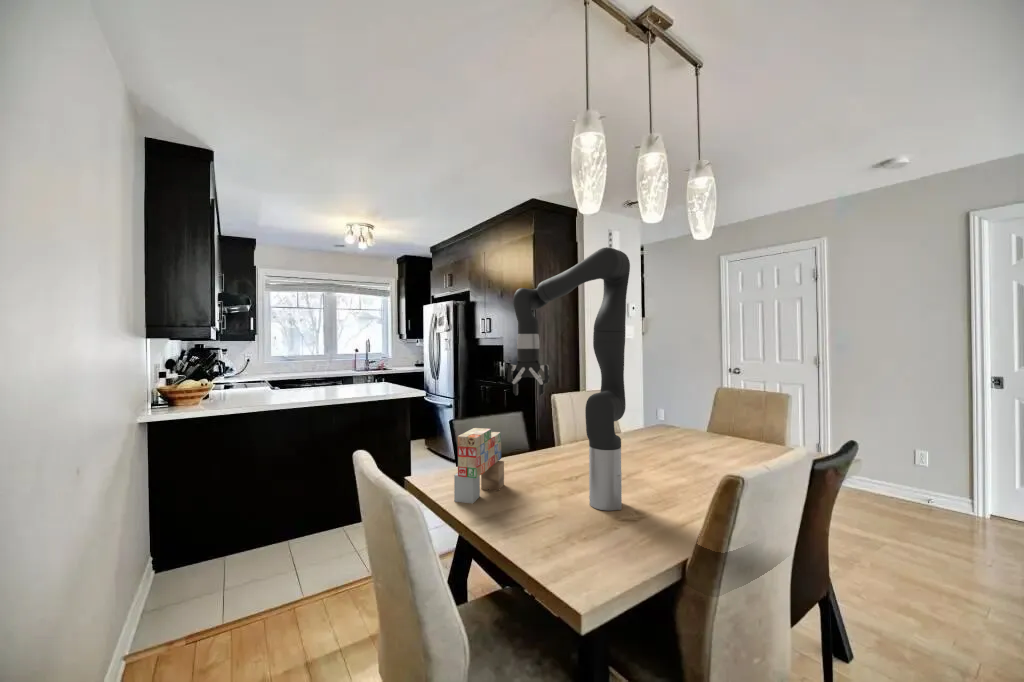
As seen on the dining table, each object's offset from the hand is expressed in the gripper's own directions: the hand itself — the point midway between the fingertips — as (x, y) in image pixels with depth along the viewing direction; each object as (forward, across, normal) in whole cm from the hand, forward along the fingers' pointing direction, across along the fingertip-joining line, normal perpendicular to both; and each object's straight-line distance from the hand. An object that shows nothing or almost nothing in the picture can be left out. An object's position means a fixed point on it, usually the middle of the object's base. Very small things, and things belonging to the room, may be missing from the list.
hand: (528, 395), depth 142 cm
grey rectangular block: (+30, +15, +18) cm, 38 cm away
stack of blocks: (+22, +13, +12) cm, 28 cm away
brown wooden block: (+30, +11, +6) cm, 33 cm away
